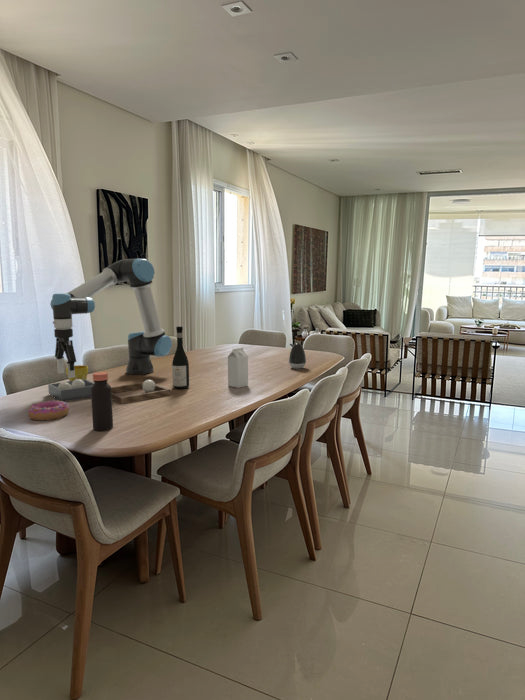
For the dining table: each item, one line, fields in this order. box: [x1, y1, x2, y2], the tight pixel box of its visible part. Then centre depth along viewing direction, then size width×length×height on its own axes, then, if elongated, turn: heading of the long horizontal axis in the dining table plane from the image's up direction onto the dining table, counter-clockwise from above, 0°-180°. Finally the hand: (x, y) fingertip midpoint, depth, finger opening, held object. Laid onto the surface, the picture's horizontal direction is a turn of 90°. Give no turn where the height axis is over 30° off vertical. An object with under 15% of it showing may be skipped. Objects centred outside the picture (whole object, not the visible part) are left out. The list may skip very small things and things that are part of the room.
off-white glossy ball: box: [71, 379, 85, 388], centre depth 218 cm, size 6×6×6 cm
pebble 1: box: [58, 381, 72, 390], centre depth 212 cm, size 6×6×6 cm
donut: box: [27, 399, 69, 422], centre depth 184 cm, size 14×14×5 cm
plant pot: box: [65, 364, 89, 381], centre depth 234 cm, size 10×10×10 cm
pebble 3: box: [141, 379, 156, 393], centre depth 222 cm, size 6×6×6 cm
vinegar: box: [90, 371, 114, 432], centre depth 167 cm, size 7×7×20 cm
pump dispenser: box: [288, 342, 307, 370], centre depth 281 cm, size 10×10×15 cm
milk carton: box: [227, 347, 249, 389], centre depth 234 cm, size 7×7×19 cm
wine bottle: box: [171, 326, 190, 390], centre depth 230 cm, size 8×8×30 cm
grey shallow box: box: [47, 379, 94, 402], centre depth 216 cm, size 17×17×5 cm
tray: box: [111, 382, 171, 404], centre depth 218 cm, size 24×22×2 cm
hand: (66, 375), depth 213 cm, fingers open, 13 cm apart
